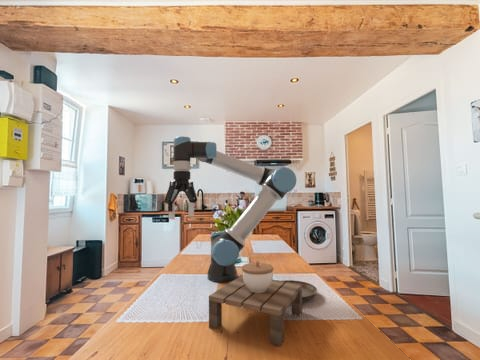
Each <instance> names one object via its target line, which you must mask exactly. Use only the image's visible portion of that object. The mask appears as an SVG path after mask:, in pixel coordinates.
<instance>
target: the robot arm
mask: <svg viewBox="0 0 480 360" xmlns="http://www.w3.org/2000/svg"><path fill="white" fill-rule="evenodd" d="M172 147H173V170H174V171H173V179H174V180H171V181H170V180H169V185H168V186H169V187H168V189H167V193H166V195H165V199H164V200H163V201H164V203H165V204H166V205H167V211H168V220H175V219H176V213H175V212H176V211H175V209H176V205H175V203H174V202H175V201H176V199H177V198H178V196H179V194H180V193H181V192H183V193H184V194H185V196H186V198H187V199H188V201H189V202H188V210H187V211H188V216H187V217H195V203H197V202H198V197H197V193H196V190H195V187H194V182H193V181H190V180H191V168H192V167H191V159H197V160H198V161H199V162H202V163H206V164H208V165H212V166H215V167H217V168H220V169H223V170H225V171H228V172H230V173H233V174H235V175H238V176H241V177H243V178H246V179H249V180H251V181H253V182H255V183H256V184H257V185H259V186H261V187H262V189H261V190H260V191H259V193H258V194H257V195H256V196H255V197H254V199H253V200H252V201H251V203H250V204H249V205H248V206H247V208H246V209H245V210H244V211H243V212H242V214H241V215H240V216H239V218H238V219H236V220H235V222H234V224H233V225H232V226H231V227H230V228H226V229H224V230H223V231H212V232H211V234H210V264H209V267H208V271H207V279H208V280H209V281H212V282H217V283H218V282H220V283H224V282H232V281H233V280H235V279H237V278H238V270H237V268H236V264H235V262H236V261H237V260H238V258H239V255H240V253H241V251H242V250H243V249H244V247H245V245H246V243H245V241H246V239H248V237H249V236H250V234H251V233H252V232H253V231H254V229H255V228H256V227H257V226H258V225H259V224H260V222H261V220H262V219H264V217H265V215H267V213H268V212H269V211H270V209H271V208H272V207H273V205H274V204H276V202H277V201H281V200H283V198H284V197H285V196H286V194H287V193H289V192H291V191H293V189H294V188H295V187H296V186H297V176H296V173H295V172H294V171H293V170H292V169H291V168H289V167H286V166H280V167H277V168H274V169H273V168H267V167H264V166H263V167H260V166H257V165H254V164H252V163H249V162H247V161H244V160H241V159H239V158H236V157H234V156H231V155H228V154H227V153H226V154H225V153H223V152H220V151H218V150H217V143H216V142H213V141H212V142H211V141H191V138H190V137H188V136H182V135H181V136H176V137H174V140H173V146H172Z"/></svg>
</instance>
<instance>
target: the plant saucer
mask: <svg viewBox="0 0 480 360" xmlns="http://www.w3.org/2000/svg"><path fill="white" fill-rule="evenodd" d="M283 281H285V283H286V282H292V283H298V284H302V303H305V302H308V301H310V300H312V298H314V296H315V295H316V294H317V291H318V288H317V287H316V286H315V285H313V284H311V283H309V282H307V281H306V282H305V281H300V280H291V279H289V280H283Z"/></svg>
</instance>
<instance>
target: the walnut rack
mask: <svg viewBox="0 0 480 360" xmlns="http://www.w3.org/2000/svg"><path fill="white" fill-rule="evenodd" d="M224 304H225V305H228V306H232V307H237V308H243V309H244V310H245V309H246V310H250V311H255V312H259V313H260V312H261V313H265V314H269V330H270V331H269V339H270V340H269V342H270V343H269V344H270V345H272V346H275V347H281V346H282V345H283V343H284V342H285V339H284V338H285V337H284V334H285V333H284V314H285V313H286V312H287V311H288V309H289V308H290V306H291V309H290V311H291V315H294V314H297V315H296V316H299V315H300V314H302V313H303V302H302V284H298V283H292V282H286V283H285V281H284V280H279V279H272V283H271V285H270V286H269V288H268V289H267V290H266V291H265V292H262V293H255V292H251V291H250V290H249V289H248V288H247V287H246V285H245V283H244V281H243V274H241V275H240V276H237V278H236V279H235V280H232V281H229V282H228V283H226V284H225V285H224V286H222V287H221V288H219V289H218V290H216V291H214V292H213V293H211V294H209V295H208V328H210V329H214V330H218V329H219V328H220V327H222V325H223V318H222V317H223V313H222V309H223V308H222V307H223V306H222V305H224ZM300 316H301V315H300Z"/></svg>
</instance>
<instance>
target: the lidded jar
mask: <svg viewBox="0 0 480 360" xmlns="http://www.w3.org/2000/svg"><path fill="white" fill-rule="evenodd" d="M241 271H242V272H241V273H242V274H241V275H243V281H244V283H245V285H246V287H247V288H248V289H249V290H250V291H251V292H255V293H262V292H265V291H266V290H267V289H268V288H269V286H270V285H271V283H272V280H274V266H273V265H272V264H270V263H266V262H260V261H256V262H247V263H245V264H243V265H242V266H241Z"/></svg>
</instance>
